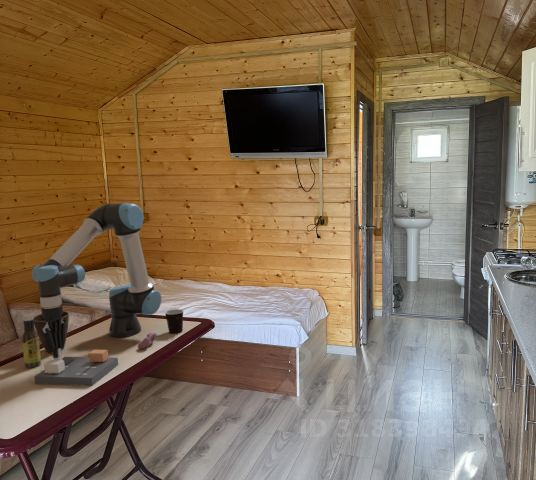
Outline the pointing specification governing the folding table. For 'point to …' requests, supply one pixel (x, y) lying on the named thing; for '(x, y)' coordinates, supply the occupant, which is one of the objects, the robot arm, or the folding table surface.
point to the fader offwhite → (54, 366)
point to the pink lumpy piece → (147, 340)
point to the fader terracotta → (98, 355)
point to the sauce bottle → (30, 344)
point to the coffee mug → (174, 321)
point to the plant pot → (40, 323)
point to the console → (78, 372)
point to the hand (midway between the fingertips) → (58, 364)
